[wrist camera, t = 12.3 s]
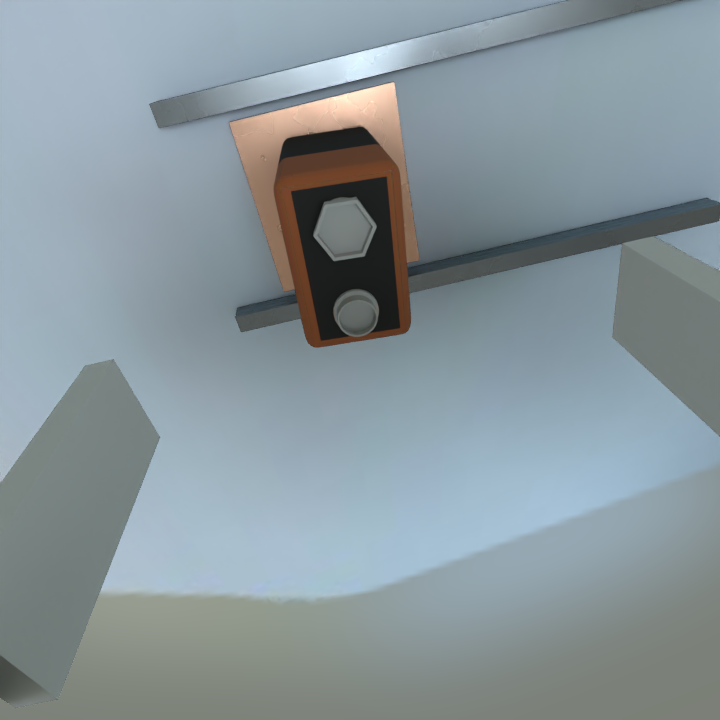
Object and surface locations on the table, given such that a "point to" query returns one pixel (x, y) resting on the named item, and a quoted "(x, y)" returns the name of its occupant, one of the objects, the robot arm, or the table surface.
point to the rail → (381, 118)
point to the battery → (344, 236)
